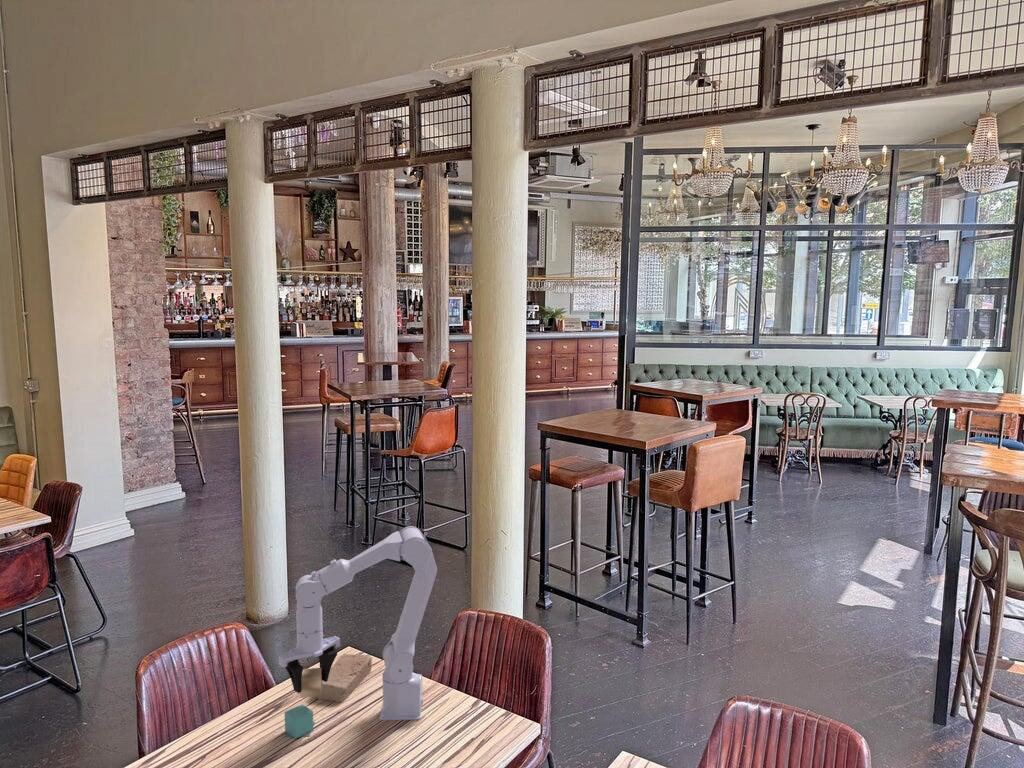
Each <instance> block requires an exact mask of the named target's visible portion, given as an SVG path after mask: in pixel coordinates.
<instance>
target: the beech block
mask: <svg viewBox="0 0 1024 768" xmlns="http://www.w3.org/2000/svg"><path fill="white" fill-rule="evenodd" d="M301 687H302V689H301V692H300V693H299V698H300V699H304V698H305V699H306V698H314V697H315V696H321V691H322V668H320V667H314V668H313V667H312V668H305V669H304V668H303V671H302V677H301Z"/></svg>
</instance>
